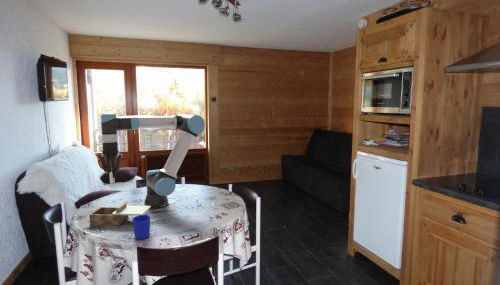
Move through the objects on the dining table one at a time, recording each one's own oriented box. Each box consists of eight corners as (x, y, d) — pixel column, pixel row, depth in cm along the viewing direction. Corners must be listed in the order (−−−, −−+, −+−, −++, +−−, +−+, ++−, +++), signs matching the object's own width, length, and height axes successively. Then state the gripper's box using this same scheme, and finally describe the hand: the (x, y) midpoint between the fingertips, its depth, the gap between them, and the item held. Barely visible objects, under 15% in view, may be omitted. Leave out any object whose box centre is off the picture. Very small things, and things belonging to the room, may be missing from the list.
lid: (150, 207, 174) (150, 201, 174) (142, 215, 161) (142, 209, 161) (122, 206, 174) (122, 201, 174) (111, 215, 162) (111, 209, 161)
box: (128, 217, 175) (128, 207, 174) (119, 225, 163) (118, 215, 162) (101, 216, 175) (100, 207, 174) (90, 225, 163) (89, 214, 162)
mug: (154, 230, 158) (154, 212, 157) (147, 240, 146) (147, 221, 145) (139, 230, 158) (138, 212, 156) (130, 240, 146) (130, 221, 144)
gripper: (124, 140, 168) (126, 181, 171) (101, 140, 168) (104, 181, 172) (118, 142, 161) (121, 185, 164) (94, 142, 161) (97, 185, 164)
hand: (112, 183), depth 168 cm, fingers closed
